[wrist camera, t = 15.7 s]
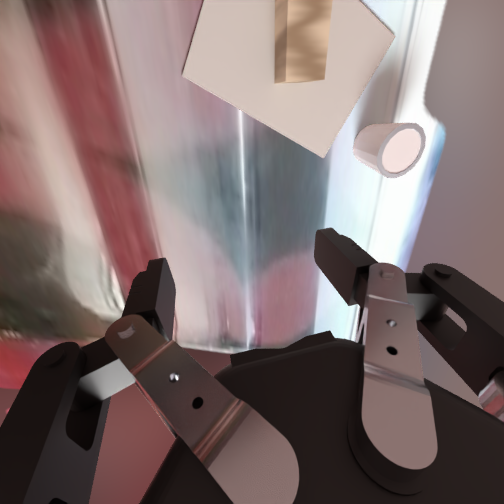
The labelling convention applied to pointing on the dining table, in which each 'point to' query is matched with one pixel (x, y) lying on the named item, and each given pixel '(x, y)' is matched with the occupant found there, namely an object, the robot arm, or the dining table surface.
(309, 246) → the dining table surface
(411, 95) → the dining table surface
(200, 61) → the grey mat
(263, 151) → the dining table surface
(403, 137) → the beige tapered cup
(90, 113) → the dining table surface
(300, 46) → the birch block
